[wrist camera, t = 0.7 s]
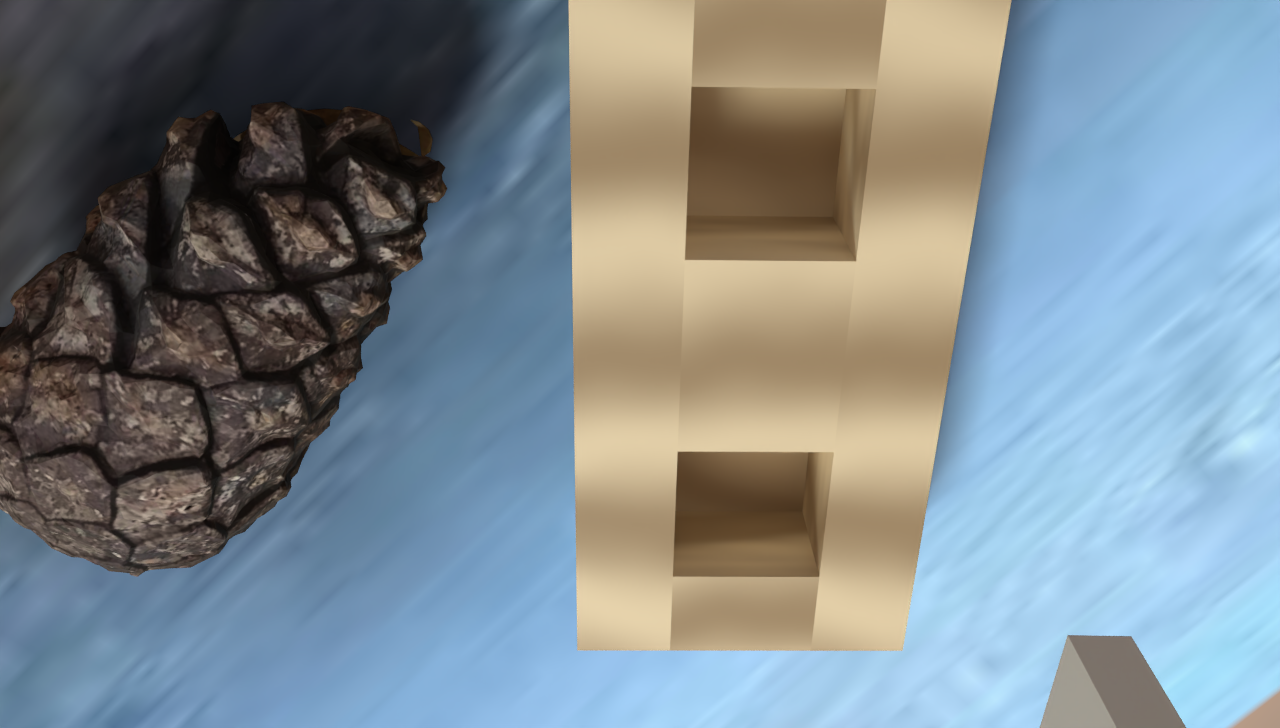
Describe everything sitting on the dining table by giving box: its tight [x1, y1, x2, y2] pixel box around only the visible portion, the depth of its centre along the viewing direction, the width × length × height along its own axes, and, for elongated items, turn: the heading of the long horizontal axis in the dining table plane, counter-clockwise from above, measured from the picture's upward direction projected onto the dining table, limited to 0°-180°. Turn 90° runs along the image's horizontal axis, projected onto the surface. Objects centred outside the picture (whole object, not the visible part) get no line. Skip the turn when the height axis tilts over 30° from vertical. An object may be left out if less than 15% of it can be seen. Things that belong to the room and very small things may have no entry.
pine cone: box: [0, 102, 447, 577], centre depth 33 cm, size 10×18×10 cm, turn 145°
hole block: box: [569, 0, 1011, 651], centre depth 36 cm, size 24×12×5 cm, turn 179°
